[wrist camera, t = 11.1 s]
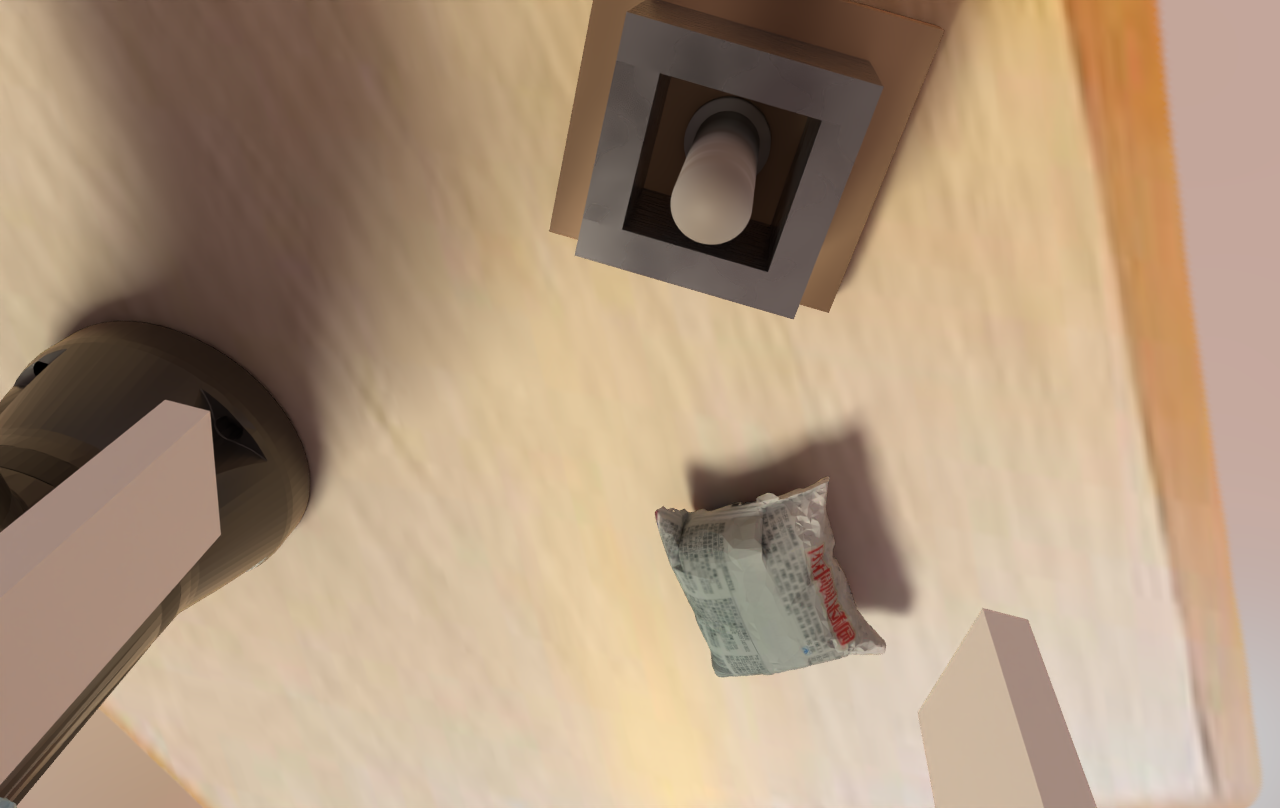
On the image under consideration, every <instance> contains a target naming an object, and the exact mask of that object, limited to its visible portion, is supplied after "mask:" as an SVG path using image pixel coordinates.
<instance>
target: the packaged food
mask: <svg viewBox="0 0 1280 808" xmlns="http://www.w3.org/2000/svg"><path fill="white" fill-rule="evenodd" d="M828 483H829V477H824V478H821V479H820V480H819V481H818V482H816V483H815V484H812V485H810V486H808V487H806V488H804V489H802V488H799V489H795V490H793V491H790V492H788V493H786V494H783V495H780V496H775V495H774V494H772V493H766V494H764V495H761V496H759V497H757V498H756V501H753V502H746V503H744V504H743V502H738V503H733V504H731V505H727V506H725V507H722V508H719V509H716V510H713V511H707V510H705V509H700V510H697V511H696V512H687V511H686V510H685V509H683V510H680V511H679V510H677V509H674V508H670V509H668V510H667V509H666V508H665V507H664V506H663V507H662V508H660V509H657V510H656V511H655V516H656V521H657V525H658V529H659V533H660V536H661V539H662V542H663V545H664V548H665V550H666V553H667V556H668V559H669V562H670V565H671V567H672V569H673V571H674V573H675V575H676V577H677V579H678V581H679V583H680V585H681V587H682V589H683V591H684V593H685V595H686V597H687V599H688V601H689V604H690V605H691V607H692V609H693V611H694V613H695V617H696V621H697V623H698V625H699V627H700V630H701V632H702V634H703V636H704V638H705V640H706V642H707V644H708V646H709V648H710V651H711V659H712V667H713V669H714V671H715V674H716V675H717V676H718V677H729V676H749V675H761V674H763V675H772V674H774V673H781V672H784V671H788V670H795V669H800V668H804V667H807V666H811V665H815V664H819V663H824V662H828V661H832V660H836V659H840V658H842V657H846V656H848V654H853V655H857V654H858V655H881V654H883V653H885V648H886V643H885V641H884V640H883V639H882V638H881V637H880V636H879V635H878V633H877V632H876V631H875V630H874V629H873V628H872V626H870V625H869V624H868V623H867V622H866V620H865V619H864V618H863V616H862V615H861V614H860V612H859V611H858V610H857V608H856V605H855V602H854V599H853V596H852V593H851V590H850V587H849V585H848V583H847V579H846V577H845V575H844V572H843V571H842V569H841V567H840V566H839V564H838V562H837V560H836V558H835V557H834V556H833V548H834V546H835V541H834V536H833V532H832V529H831V526H830V523H829V519H828V516H827V512H826V500H827V489H828ZM673 510H674V511H675V512H673Z"/></svg>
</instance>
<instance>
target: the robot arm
mask: <svg viewBox="0 0 1280 808" xmlns="http://www.w3.org/2000/svg"><path fill="white" fill-rule="evenodd" d="M309 491H310V477H309V469H308V464H307V459H306V456H305V452H304V450H303V447H302V444H301V442H300V440H299V437H298V435H297V433H296V431H295V429H294V427H293V426H292V424H291V422H290V421H289V419H288V417H287V416H286V414H285V413H284V411H283V410H282V409H281V407H280V406H279V405H278V403H277V402H276V401H275V400H274V398H273V397H272V396H271V395H270V394H269V393H268V392H267V390H266V389H265V388H264V387H263V386H262V385H261V384H260V383H259V382H258V381H257V380H256V379H254V378H253V377H252V376H251V375H250V374H249V373H248V372H247V371H245V370H244V369H243V368H242V367H241V366H239V365H238V364H237V363H235V362H234V361H232V360H231V359H230V358H228V357H227V356H225V355H224V354H222V353H221V352H219V351H217V350H216V349H214V348H212V347H211V346H209V345H207V344H205V343H203V342H201V341H199V340H197V339H195V338H193V337H190V336H188V335H186V334H183V333H180V332H178V331H175V330H172V329H169V328H165V327H161V326H158V325H153V324H148V323H141V322H131V321H114V322H105V323H100V324H95V325H92V326H89V327H86V328H84V329H81V330H79V331H77V332H75V333H74V334H72V335H70V336H68V337H67V338H65V339H63V340H62V341H60V342H58V343H57V344H55V345H53V346H52V347H50V348H48V349H47V350H45V351H44V352H42V353H41V354H40V355H38V356H37V357H36V358H35V359H34V360H33V361H32V362H31V363H29V365H28V366H27V367H26V368H25V369H24V370H23V372H22V373H21V375H20V376H19V377H18V379H17V380H16V382H15V384H14V386H13V387H12V389H11V390H10V391H9V392H8V393H7V394H6V395H5V397H4V398H3V399H2V400H1V402H0V808H17V807H16V806H17V805H18V803H19V802H20V801H21V800H22V799H23V798H24V796H25V795H26V794H27V793H28V792H29V790H30V789H31V788H32V787H33V786H34V784H35V783H36V782H37V781H38V780H39V778H40V777H41V776H42V775H43V774H44V772H45V771H46V770H47V769H48V768H49V766H50V765H51V764H52V763H53V762H54V760H55V759H56V758H57V757H58V756H59V755H60V753H61V752H62V751H63V750H64V749H65V747H66V746H67V745H68V744H69V742H70V741H71V740H72V739H73V738H74V737H75V735H76V734H77V733H78V732H79V731H80V729H81V728H82V727H83V726H84V725H85V723H86V722H87V721H88V720H89V719H90V717H91V716H92V715H93V714H94V712H95V711H96V710H97V709H98V708H99V707H100V706H101V704H102V703H103V702H104V701H105V700H106V698H107V697H108V696H109V695H110V694H111V692H112V691H113V690H114V689H115V688H116V686H117V685H118V684H119V683H120V682H121V680H122V679H123V678H124V677H125V676H126V674H127V673H128V672H129V671H130V670H131V668H132V667H133V666H134V665H135V664H136V663H137V661H138V660H139V659H140V658H141V657H142V655H143V654H144V653H145V652H146V651H147V649H148V648H149V647H150V646H151V644H152V643H153V642H154V641H155V640H156V639H157V637H158V636H159V635H160V634H161V633H162V632H163V631H164V629H165V628H166V627H167V626H168V625H169V624H170V623H171V621H172V620H173V619H174V618H175V617H176V616H177V615H178V614H179V613H180V612H182V611H183V610H185V609H187V608H188V607H190V606H192V605H193V604H195V603H197V602H198V601H200V600H202V599H203V598H205V597H207V596H208V595H210V594H212V593H213V592H215V591H217V590H218V589H220V588H221V587H223V586H224V585H226V584H228V583H229V582H231V581H232V580H234V579H235V578H237V577H238V576H240V575H241V574H243V573H245V572H247V571H249V570H252V569H254V568H256V567H257V566H259V565H260V564H262V563H263V562H265V561H266V560H267V559H268V558H269V557H270V556H271V555H273V554H274V553H275V552H276V551H277V549H278V548H279V547H280V546H281V545H282V543H283V542H284V541H285V540H286V538H287V537H288V536H289V535H290V533H291V532H292V531H293V530H294V529H295V527H296V526H297V525H298V523H299V522H300V520H301V518H302V516H303V514H304V512H305V510H306V507H307V503H308V499H309ZM918 717H919V722H920V728H921V733H922V738H923V744H924V749H925V755H926V760H927V765H928V771H929V776H930V781H931V787H932V792H933V798H934V803H935V808H1097V807H1096V804H1095V801H1094V798H1093V796H1092V793H1091V790H1090V787H1089V785H1088V782H1087V779H1086V777H1085V774H1084V771H1083V768H1082V766H1081V763H1080V760H1079V757H1078V755H1077V752H1076V749H1075V747H1074V744H1073V741H1072V738H1071V736H1070V733H1069V730H1068V727H1067V725H1066V722H1065V719H1064V717H1063V714H1062V711H1061V708H1060V706H1059V703H1058V700H1057V697H1056V695H1055V692H1054V689H1053V687H1052V684H1051V681H1050V678H1049V676H1048V673H1047V670H1046V667H1045V665H1044V662H1043V659H1042V657H1041V654H1040V651H1039V648H1038V646H1037V643H1036V640H1035V637H1034V635H1033V632H1032V629H1031V627H1030V624H1029V621H1028V620H1027V619H1023V618H1019V617H1015V616H1011V615H1007V614H1003V613H1000V612H996V611H992V610H988V609H984V608H982V610H981V612H980V613H979V615H978V617H977V618H976V620H975V621H974V623H973V625H972V626H971V628H970V629H969V631H968V633H967V634H966V636H965V638H964V639H963V641H962V642H961V644H960V646H959V647H958V649H957V650H956V652H955V654H954V655H953V657H952V658H951V660H950V662H949V663H948V665H947V667H946V668H945V670H944V671H943V673H942V675H941V676H940V678H939V679H938V681H937V683H936V684H935V686H934V687H933V689H932V691H931V692H930V694H929V696H928V697H927V699H926V700H925V702H924V704H923V705H922V707H921V708H920V710H919V712H918Z"/></svg>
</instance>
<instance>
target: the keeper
mask: <svg viewBox="0 0 1280 808" xmlns="http://www.w3.org/2000/svg"><path fill="white" fill-rule="evenodd" d="M643 1H645V0H593V4H592V9H591V14H590V20H589V25H588V30H587V35H586V41H585V46H584V51H583V56H582V62H581V67H580V72H579V78H578V83H577V88H576V93H575V99H574V104H573V109H572V114H571V120H570V125H569V130H568V135H567V141H566V146H565V151H564V157H563V162H562V167H561V172H560V178H559V183H558V188H557V193H556V199H555V204H554V209H553V214H552V220H551V225H550V230H549V231H550V232H553V233H556V234H560V235H563V236H567V237H570V238H574V239H577V240H578V238H579V233H580V228H581V224H582V219H583V214H584V210H585V205H586V200H587V195H588V191H589V186H590V181H591V177H592V172H593V167H594V163H595V158H596V153H597V148H598V144H599V139H600V134H601V130H602V125H603V120H604V116H605V111H606V106H607V101H608V97H609V92H610V87H611V83H612V78H613V73H614V69H615V64H616V59H617V54H618V50H619V45H620V40H621V36H622V31H623V26H624V22H625V17H626V12H627V11H629V10H630V9H632V8H633V7H635V6H637V5H638V4H640V3H641V2H643ZM662 1H666V2H669V3H673V4H676V5H679V6H683V7H686V8H690V9H693V10H697V11H700V12H703V13H707V14H710V15H714V16H717V17H721V18H724V19H727V20H731V21H734V22H738V23H741V24H745V25H748V26H752V27H755V28H758V29H762V30H765V31H769V32H772V33H776V34H779V35H782V36H786V37H789V38H793V39H796V40H800V41H803V42H806V43H810V44H813V45H817V46H820V47H824V48H827V49H831V50H834V51H837V52H841V53H844V54H848V55H851V56H855V57H858V58H861V59H865V60H868V61H870V63H871V65H872V66H873V68H874V70H875V72H876V74H877V75H878V77H879V79H880V81H881V83H882V84H883V86H884V87H883V90H882V93H881V95H880V98H879V100H878V103H877V106H876V108H875V111H874V113H873V116H872V118H871V121H870V124H869V126H868V129H867V131H866V134H865V136H864V139H863V142H862V144H861V147H860V149H859V152H858V155H857V157H856V160H855V162H854V165H853V167H852V170H851V173H850V175H849V178H848V180H847V183H846V185H845V188H844V191H843V193H842V196H841V198H840V201H839V204H838V206H837V209H836V211H835V214H834V216H833V219H832V222H831V224H830V227H829V229H828V232H827V235H826V237H825V240H824V242H823V245H822V247H821V250H820V253H819V255H818V258H817V260H816V263H815V265H814V268H813V271H812V273H811V276H810V278H809V281H808V284H807V286H806V289H805V291H804V294H803V296H802V299H801V302H800V305H804V306H807V307H811V308H814V309H818V310H821V311H824V312H828V313H829V311H830V308H831V306H832V304H833V301H834V299H835V296H836V294H837V291H838V289H839V287H840V284H841V282H842V279H843V277H844V274H845V272H846V269H847V267H848V265H849V262H850V260H851V257H852V255H853V252H854V250H855V248H856V245H857V243H858V240H859V238H860V235H861V233H862V231H863V228H864V226H865V223H866V221H867V218H868V216H869V213H870V211H871V209H872V206H873V204H874V201H875V199H876V196H877V194H878V192H879V189H880V187H881V184H882V182H883V179H884V177H885V175H886V172H887V170H888V167H889V165H890V162H891V160H892V157H893V155H894V153H895V150H896V148H897V145H898V143H899V140H900V138H901V136H902V133H903V131H904V128H905V126H906V123H907V121H908V119H909V116H910V114H911V111H912V109H913V106H914V104H915V101H916V99H917V97H918V94H919V92H920V89H921V87H922V84H923V82H924V80H925V77H926V75H927V72H928V70H929V67H930V65H931V63H932V60H933V58H934V55H935V53H936V50H937V48H938V45H939V43H940V41H941V38H942V36H943V33H944V30H943V29H942V28H941V27H939V26H936V25H932V24H929V23H926V22H922V21H919V20H915V19H912V18H908V17H905V16H901V15H898V14H894V13H891V12H888V11H884V10H881V9H877V8H874V7H870V6H867V5H863V4H860V3H856V2H853V1H850V0H662ZM807 118H808V116H805V115H802V114H798V113H795V112H792V111H788V110H785V109H781V108H778V107H774V106H771V105H768V104H764V103H761V102H757V101H754V100H750V99H747V98H744V97H740V96H737V95H733V94H730V93H726V92H723V91H720V90H716V89H713V88H709V87H706V86H702V85H699V84H696V83H692V82H689V81H685V80H682V79H678V78H675V77H671V81H670V85H669V89H668V93H667V97H666V101H665V105H664V109H663V113H662V117H661V121H660V125H659V129H658V133H657V137H656V141H655V145H654V149H653V153H652V157H651V161H650V165H649V169H648V173H647V177H646V181H645V185H644V188H646V189H650V190H653V191H657V192H660V193H663V194H667V195H670V196H671V212H672V216H673V219H674V221H675V223H676V225H677V226H678V228H679V229H680V230H681V232H682V233H684V234H685V235H686V236H687V237H689V238H690V239H692V240H694V241H696V242H699V243H703V244H710V245H712V244H721V243H724V242H727V241H729V240H731V239H733V238H735V237H736V236H737V235H739V234H740V233H741V232H742V231H743V229H744V228H745V227H746V225H747V224H748V222H749V219H752V220H756V221H759V222H763V223H766V224H770V225H771V222H772V219H773V216H774V213H775V210H776V207H777V205H778V202H779V199H780V196H781V193H782V190H783V187H784V184H785V181H786V179H787V176H788V173H789V170H790V167H791V164H792V161H793V158H794V155H795V153H796V150H797V147H798V144H799V141H800V138H801V135H802V132H803V129H804V127H805V124H806V121H807Z"/></svg>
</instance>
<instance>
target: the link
mask: <svg viewBox="0 0 1280 808" xmlns="http://www.w3.org/2000/svg"><path fill="white" fill-rule="evenodd" d="M671 77H675V78H678V79H682V80H685V81H689V82H692V83H696V84H699V85H702V86H706V87H709V88H713V89H716V90H720V91H723V92H726V93H730V94H733V95H737V96H740V97H744V98H747V99H750V100H754V101H757V102H761V103H764V104H768V105H771V106H774V107H778V108H781V109H785V110H788V111H792V112H795V113H798V114H802V115H805V116H808V118H807V121H806V124H805V127H804V129H803V132H802V135H801V138H800V141H799V144H798V147H797V150H796V153H795V155H794V158H793V161H792V164H791V167H790V170H789V173H788V176H787V179H786V181H785V184H784V187H783V190H782V193H781V196H780V199H779V202H778V205H777V207H776V210H775V213H774V216H773V219H772V222H771V225H770V224H766V223H763V222H759V221H756V220H752V219H749V222H748V224H747V225H746V227H745V228H744V229H743V231H742V232H741V233H740V234H739V235H737V236H736V237H735V238H733V239H731V240H729V241H727V242H724V243H721V244H712V245H710V244H703V243H699V242H696V241H694V240H692V239H690V238H689V237H687V236H686V235H685V234H684V233H682V232H681V230H680V229H679V228H678V226H677V225H676V223H675V221H674V219H673V216H672V212H671V196H670V195H667V194H663V193H660V192H657V191H653V190H650V189H646V188H644V185H645V181H646V177H647V173H648V169H649V165H650V161H651V157H652V153H653V149H654V145H655V141H656V137H657V133H658V129H659V125H660V121H661V117H662V113H663V109H664V105H665V101H666V97H667V93H668V89H669V85H670V81H671ZM883 87H884V86H883V84H882V83H881V81H880V79H879V77H878V75H877V74H876V72H875V70H874V68H873V66H872V65H871V63H870V61H868V60H865V59H861V58H858V57H855V56H851V55H848V54H844V53H841V52H837V51H834V50H831V49H827V48H824V47H820V46H817V45H813V44H810V43H806V42H803V41H800V40H796V39H793V38H789V37H786V36H782V35H779V34H776V33H772V32H769V31H765V30H762V29H758V28H755V27H752V26H748V25H745V24H741V23H738V22H734V21H731V20H727V19H724V18H721V17H717V16H714V15H710V14H707V13H703V12H700V11H697V10H693V9H690V8H686V7H683V6H679V5H676V4H673V3H669V2H666V1H662V0H645V1H643V2H641V3H640V4H638V5H637V6H635V7H633V8H632V9H630V10H629V11H627V12H626V17H625V22H624V26H623V31H622V36H621V40H620V45H619V50H618V54H617V59H616V64H615V69H614V73H613V78H612V83H611V87H610V92H609V97H608V101H607V106H606V111H605V116H604V120H603V125H602V130H601V134H600V139H599V144H598V148H597V153H596V158H595V163H594V167H593V172H592V177H591V181H590V186H589V191H588V195H587V200H586V205H585V210H584V214H583V219H582V224H581V228H580V233H579V238H578V242H577V247H576V252H575V256H579V257H582V258H585V259H589V260H592V261H596V262H599V263H603V264H606V265H609V266H613V267H616V268H620V269H623V270H626V271H630V272H633V273H637V274H640V275H644V276H647V277H650V278H654V279H657V280H661V281H664V282H667V283H671V284H674V285H678V286H681V287H685V288H688V289H691V290H695V291H698V292H702V293H705V294H709V295H712V296H715V297H719V298H722V299H726V300H729V301H732V302H736V303H739V304H743V305H746V306H750V307H753V308H756V309H760V310H763V311H767V312H770V313H774V314H777V315H780V316H784V317H787V318H791V319H794V317H795V314H796V312H797V309H798V307H799V304H800V302H801V299H802V296H803V294H804V291H805V289H806V286H807V284H808V281H809V278H810V276H811V273H812V271H813V268H814V265H815V263H816V260H817V258H818V255H819V253H820V250H821V247H822V245H823V242H824V240H825V237H826V235H827V232H828V229H829V227H830V224H831V222H832V219H833V216H834V214H835V211H836V209H837V206H838V204H839V201H840V198H841V196H842V193H843V191H844V188H845V185H846V183H847V180H848V178H849V175H850V173H851V170H852V167H853V165H854V162H855V160H856V157H857V155H858V152H859V149H860V147H861V144H862V142H863V139H864V136H865V134H866V131H867V129H868V126H869V124H870V121H871V118H872V116H873V113H874V111H875V108H876V106H877V103H878V100H879V98H880V95H881V93H882V90H883Z"/></svg>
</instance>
